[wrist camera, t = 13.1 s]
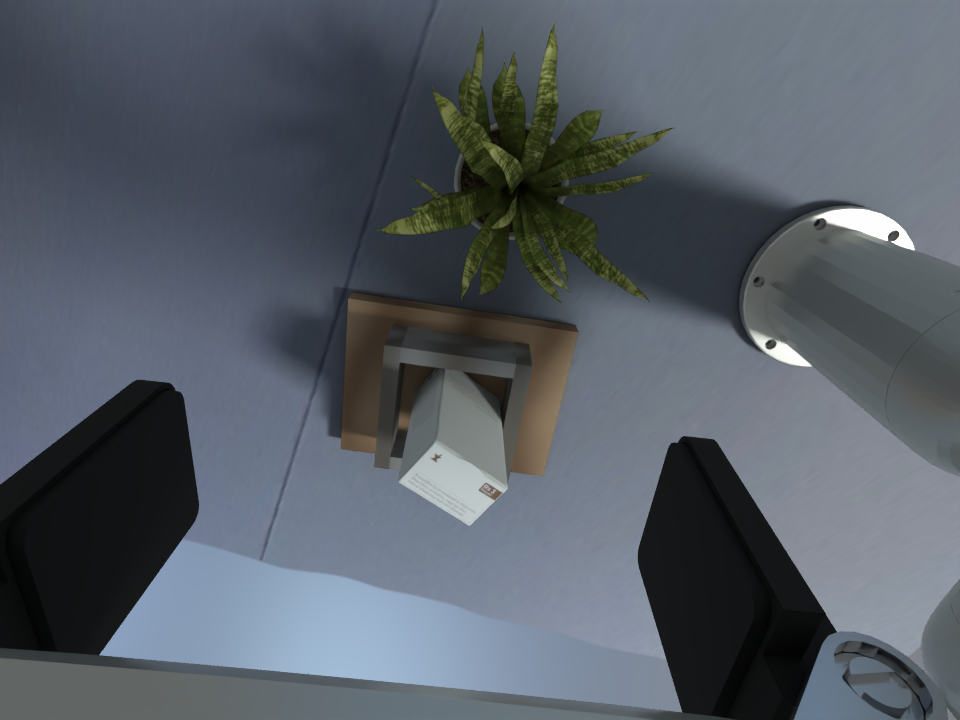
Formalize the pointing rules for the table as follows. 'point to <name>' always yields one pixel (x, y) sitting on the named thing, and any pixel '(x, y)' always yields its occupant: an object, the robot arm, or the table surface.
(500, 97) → the house plant
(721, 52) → the table surface
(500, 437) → the skincare box
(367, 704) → the robot arm
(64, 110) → the table surface
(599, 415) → the table surface
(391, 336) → the socket
